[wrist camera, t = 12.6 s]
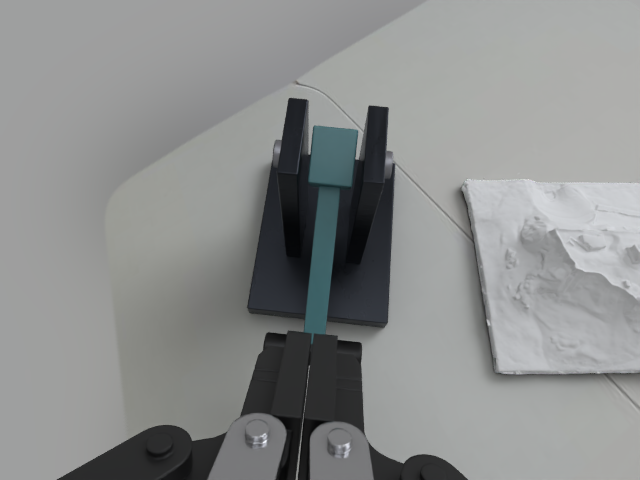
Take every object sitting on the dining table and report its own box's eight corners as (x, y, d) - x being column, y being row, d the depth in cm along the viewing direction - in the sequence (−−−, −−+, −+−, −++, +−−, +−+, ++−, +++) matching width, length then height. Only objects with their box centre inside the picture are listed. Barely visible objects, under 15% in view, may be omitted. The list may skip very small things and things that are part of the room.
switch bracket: (384, 327, 31) (426, 265, 20) (249, 313, 31) (217, 243, 20) (392, 171, 35) (430, 53, 25) (274, 159, 36) (260, 36, 25)
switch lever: (357, 363, 25) (360, 377, 23) (266, 353, 26) (260, 366, 23) (381, 141, 25) (387, 132, 23) (289, 131, 25) (284, 122, 23)
